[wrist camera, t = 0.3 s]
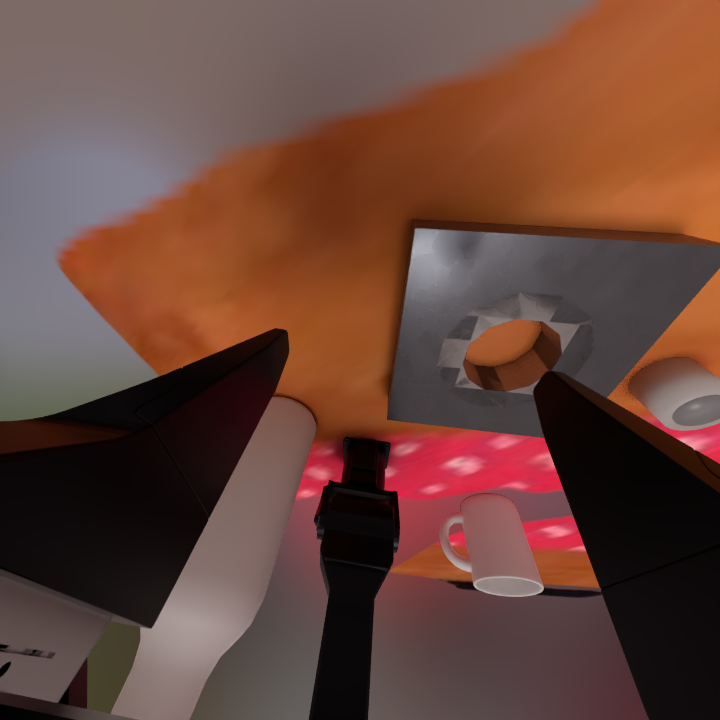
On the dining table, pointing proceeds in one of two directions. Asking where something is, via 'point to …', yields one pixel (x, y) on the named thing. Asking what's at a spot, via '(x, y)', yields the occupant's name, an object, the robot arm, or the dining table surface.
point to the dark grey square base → (531, 313)
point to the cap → (678, 393)
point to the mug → (493, 546)
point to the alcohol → (222, 571)
